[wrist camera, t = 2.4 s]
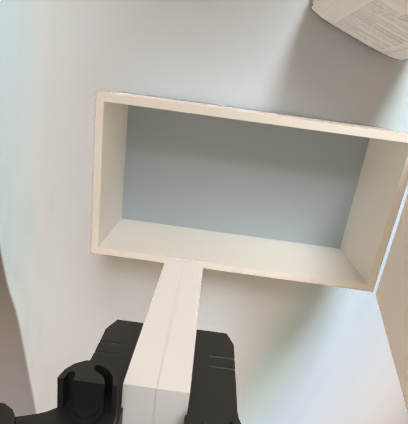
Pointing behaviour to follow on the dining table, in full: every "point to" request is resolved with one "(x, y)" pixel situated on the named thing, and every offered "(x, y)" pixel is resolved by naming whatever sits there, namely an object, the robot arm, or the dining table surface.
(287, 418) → the dining table surface
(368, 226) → the box
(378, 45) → the photo printer
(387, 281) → the mailer lid
